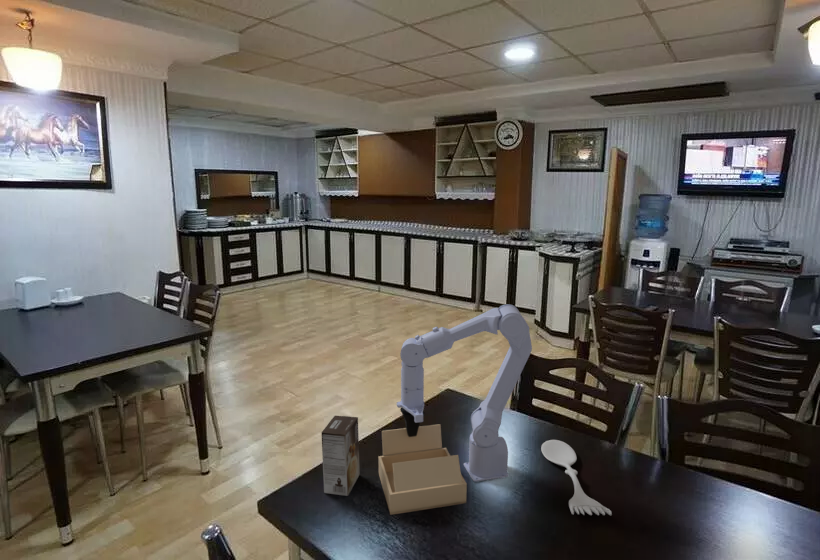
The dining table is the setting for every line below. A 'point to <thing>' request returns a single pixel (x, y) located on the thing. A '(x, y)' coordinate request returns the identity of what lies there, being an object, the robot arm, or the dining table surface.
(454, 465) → the near flap
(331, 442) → the coffee box
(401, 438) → the far flap
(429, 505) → the carton
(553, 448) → the spoon
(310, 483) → the dining table surface
